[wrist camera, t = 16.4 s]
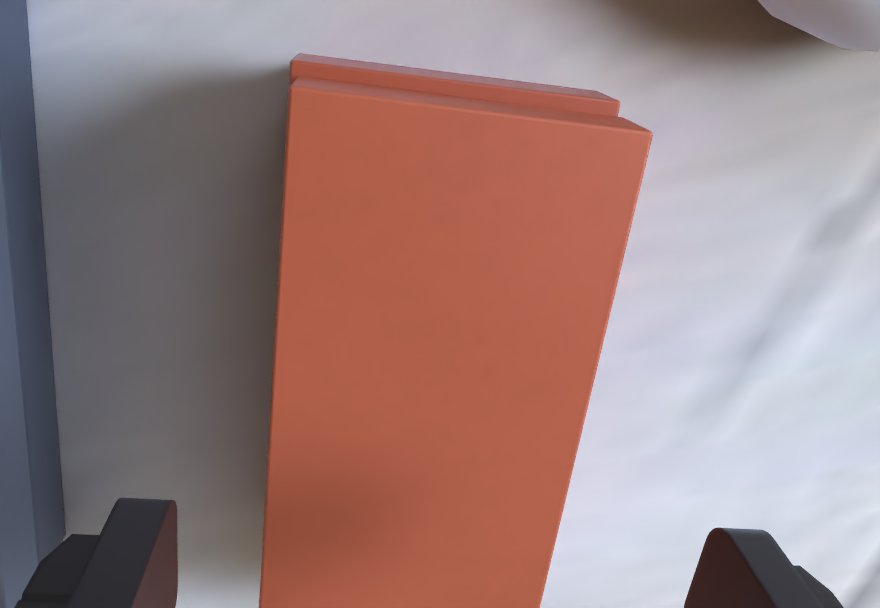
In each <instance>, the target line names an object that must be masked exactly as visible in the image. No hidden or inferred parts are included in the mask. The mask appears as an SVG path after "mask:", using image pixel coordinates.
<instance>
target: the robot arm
mask: <svg viewBox="0 0 880 608" xmlns="http://www.w3.org/2000/svg"><path fill="white" fill-rule="evenodd" d="M177 587H178V560H177V506H176V502H175V501H174V500H159V499H138V498H119V499H118V500H117V501H116V503H115V505H114V507H113V509H112V511H111V513H110V515H109V517H108V519H107V521H106V523H105V525H104V527H103V529H102V532H101V534H100V535H80V534H72V535H71V536H70V537H68V538H67V539H66V540H65V541H64V542H62V543H61V544H60V545H59V546H58V547H57V548H55V549H54V550H53V551H52V552H51V553H49V554H48V555H47V556H46V557H45V558H44V559H42V560H41V561H40V563H39V565H38V566H37V568H36V570H35V572H34V574H33V575H32V577H31V579H30V581H29V582H28V584H27V586H26V588H25V590H24V591H23V593H22V599H21V600H18V602H17V604H16V606H15V607H14V608H175V606H176V599H177ZM684 608H843V606H842V605H841V604H840V602H839V601H838V600H837V598H836V597H835V596H834V594H833V593H832V592H831V591H830V590H829V589H828V588H826V587H825V586H824V585H823V584H821V583H820V582H819V581H818V580H817V579H815V578H814V577H813V576H812V575H810V574H809V573H808V572H807V571H806V570H804V569H803V568H802V567H801V566H793V565H792V563H791V562H790V561H789V559H788V558H787V557H786V555H785V554H784V552H783V551H782V550H781V548H780V547H779V546H778V544H777V543H776V541H775V540H774V539H773V537H772V536H771V535H770V534H769V533H768V532H766V531H764V530H753V529H732V528H715V529H713V530H712V531H711V532H710V533H709V535H708V536H707V539H706V542H705V544H704V547H703V550H702V553H701V556H700V559H699V562H698V565H697V568H696V571H695V574H694V577H693V580H692V583H691V586H690V589H689V592H688V595H687V598H686V601H685V605H684Z"/></svg>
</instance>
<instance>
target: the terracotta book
mask: <svg viewBox="0 0 880 608" xmlns="http://www.w3.org/2000/svg"><path fill="white" fill-rule="evenodd" d="M652 136H653V135H652V132H651V131H649V130H647V129H645V128H643V127H641V126H639V125H637V124H635V123H633V122H631V121H629V120H627V119H625V118H621V117H614V116H606V115H598V114H590V113H583V112H575V111H567V110H559V109H552V108H544V107H536V106H529V105H521V104H513V103H505V102H498V101H490V100H482V99H474V98H467V97H459V96H451V95H443V94H436V93H428V92H420V91H413V90H405V89H397V88H389V87H382V86H374V85H366V84H358V83H351V82H343V81H335V80H328V79H320V78H312V77H304V76H299V77H297V79H296V80H295V81H294V82H293V84H292V85H291V86H290V88H289V92H288V109H287V126H286V144H285V161H284V179H283V196H282V214H281V231H280V249H279V266H278V284H277V301H276V319H275V336H274V354H273V371H272V389H271V406H270V424H269V441H268V459H267V476H266V493H265V511H264V528H263V546H262V563H261V581H260V598H259V608H540V604H541V600H542V595H543V591H544V587H545V583H546V579H547V575H548V570H549V566H550V562H551V558H552V554H553V550H554V545H555V541H556V537H557V533H558V529H559V524H560V520H561V516H562V512H563V508H564V504H565V499H566V495H567V491H568V487H569V483H570V478H571V474H572V470H573V466H574V462H575V458H576V453H577V449H578V445H579V441H580V437H581V433H582V428H583V424H584V420H585V416H586V412H587V407H588V403H589V399H590V395H591V391H592V387H593V382H594V378H595V374H596V370H597V366H598V362H599V357H600V353H601V349H602V345H603V341H604V336H605V332H606V328H607V324H608V320H609V316H610V311H611V307H612V303H613V299H614V295H615V291H616V286H617V282H618V278H619V274H620V270H621V265H622V261H623V257H624V253H625V249H626V245H627V240H628V236H629V232H630V228H631V224H632V220H633V215H634V211H635V207H636V203H637V199H638V194H639V190H640V186H641V182H642V178H643V174H644V169H645V165H646V161H647V157H648V153H649V149H650V144H651V140H652Z"/></svg>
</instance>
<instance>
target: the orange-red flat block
mask: <svg viewBox="0 0 880 608" xmlns="http://www.w3.org/2000/svg"><path fill="white" fill-rule="evenodd" d="M299 76H304V77H312V78H320V79H328V80H335V81H343V82H351V83H358V84H366V85H374V86H382V87H389V88H397V89H405V90H413V91H420V92H428V93H436V94H443V95H451V96H459V97H467V98H474V99H482V100H490V101H498V102H505V103H513V104H521V105H529V106H536V107H544V108H552V109H559V110H567V111H575V112H583V113H590V114H598V115H606V116H614V117H618V112H619V107H620V101H618V100H616V99H613V98H611V97H609V96H606V95H604V94H602V93H599V92H597V91H592V90H584V89H576V88H568V87H561V86H553V85H545V84H537V83H529V82H521V81H513V80H505V79H498V78H490V77H482V76H474V75H466V74H458V73H450V72H442V71H435V70H427V69H419V68H411V67H403V66H395V65H387V64H379V63H372V62H364V61H356V60H348V59H340V58H332V57H324V56H316V55H308V54H301V53H300V54H298V55H297V56H296V57H294V58H293V59H292V60H291V62H290V73H289V88H290V86H291V85H292V84H293V82H294V81H295V80H296V79H297V77H299Z"/></svg>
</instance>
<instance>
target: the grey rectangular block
mask: <svg viewBox="0 0 880 608" xmlns="http://www.w3.org/2000/svg"><path fill="white" fill-rule="evenodd" d="M64 536H65V521H64V508H63V494H62V480H61V467H60V453H59V440H58V426H57V413H56V399H55V386H54V372H53V359H52V345H51V332H50V318H49V305H48V291H47V278H46V264H45V250H44V237H43V223H42V210H41V196H40V183H39V169H38V156H37V142H36V129H35V115H34V102H33V88H32V75H31V61H30V48H29V34H28V20H27V7H26V0H0V608H14V607H15V606H16V604H17V602H18V600H21V599H22V593H23V591H24V590H25V588H26V586H27V584H28V582H29V581H30V579H31V577H32V575H33V574H34V572H35V570H36V568H37V566H38V565H39V563H40V561H41V560H42V559H44V558H45V557H46V556H47V555H48V554H49V553H51V552H52V551H53V550H54V549H55V548H57V547H58V546H59V545H60V543H61V542H62V540H63V538H64Z"/></svg>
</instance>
